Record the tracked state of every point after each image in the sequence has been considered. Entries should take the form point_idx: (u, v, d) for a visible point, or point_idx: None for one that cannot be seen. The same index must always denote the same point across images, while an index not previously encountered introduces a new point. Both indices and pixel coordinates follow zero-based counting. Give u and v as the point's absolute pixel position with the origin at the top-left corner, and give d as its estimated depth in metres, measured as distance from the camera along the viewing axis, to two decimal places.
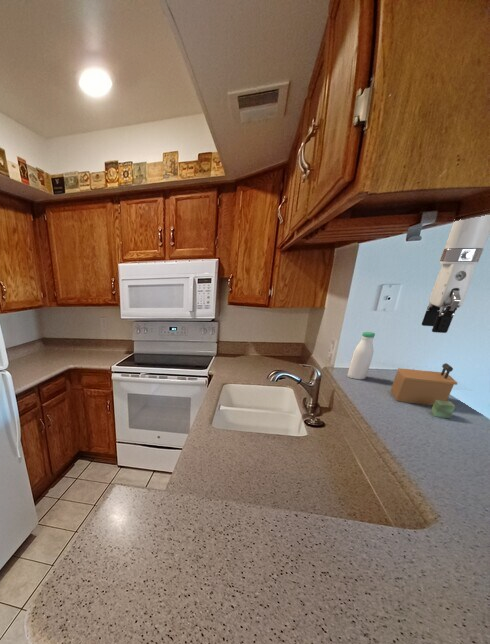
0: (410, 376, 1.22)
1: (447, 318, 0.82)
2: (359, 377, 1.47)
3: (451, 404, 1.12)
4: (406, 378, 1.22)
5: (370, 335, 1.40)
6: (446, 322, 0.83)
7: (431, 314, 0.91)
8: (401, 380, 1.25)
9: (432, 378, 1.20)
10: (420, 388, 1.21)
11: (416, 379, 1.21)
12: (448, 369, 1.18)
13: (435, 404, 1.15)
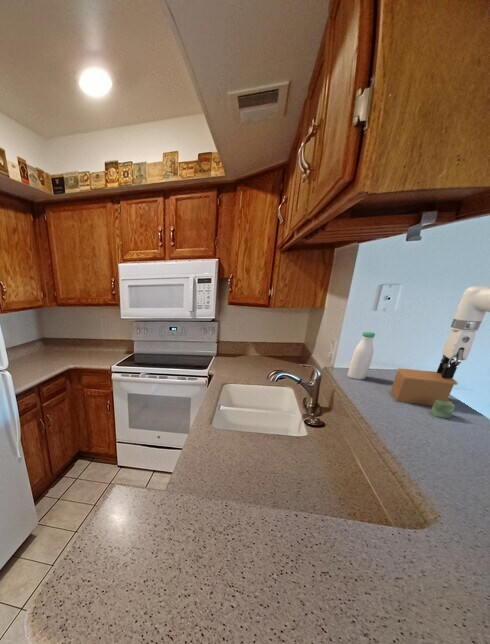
0: (410, 376, 1.22)
1: (452, 369, 1.17)
2: (359, 377, 1.47)
3: (451, 404, 1.12)
4: (406, 378, 1.22)
5: (370, 335, 1.40)
6: (452, 372, 1.17)
7: None
8: (401, 380, 1.25)
9: (432, 378, 1.20)
10: (420, 388, 1.21)
11: (416, 379, 1.21)
12: None
13: (435, 404, 1.15)
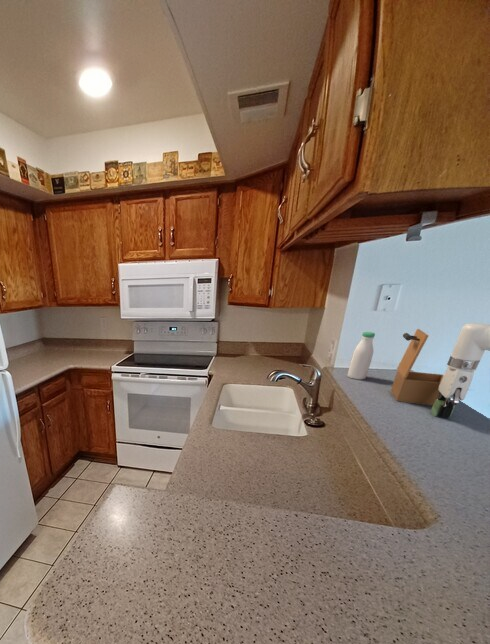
0: (405, 371, 1.22)
1: (449, 408, 1.10)
2: (359, 377, 1.47)
3: None
4: (405, 377, 1.21)
5: (370, 335, 1.40)
6: (448, 411, 1.11)
7: None
8: (401, 380, 1.25)
9: (414, 353, 1.19)
10: (420, 388, 1.21)
11: (409, 369, 1.20)
12: (408, 339, 1.19)
13: (435, 404, 1.15)
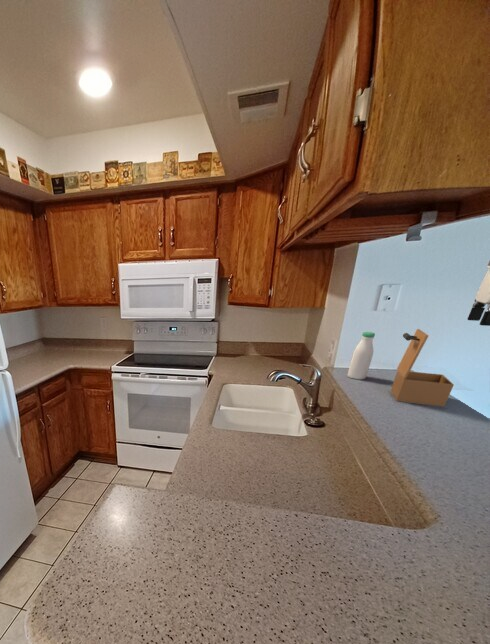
0: (405, 371, 1.22)
1: None
2: (359, 377, 1.47)
3: None
4: (405, 377, 1.21)
5: (370, 335, 1.40)
6: None
7: (476, 310, 1.07)
8: (401, 380, 1.25)
9: (414, 353, 1.19)
10: (420, 388, 1.21)
11: (409, 369, 1.20)
12: (408, 339, 1.19)
13: None
